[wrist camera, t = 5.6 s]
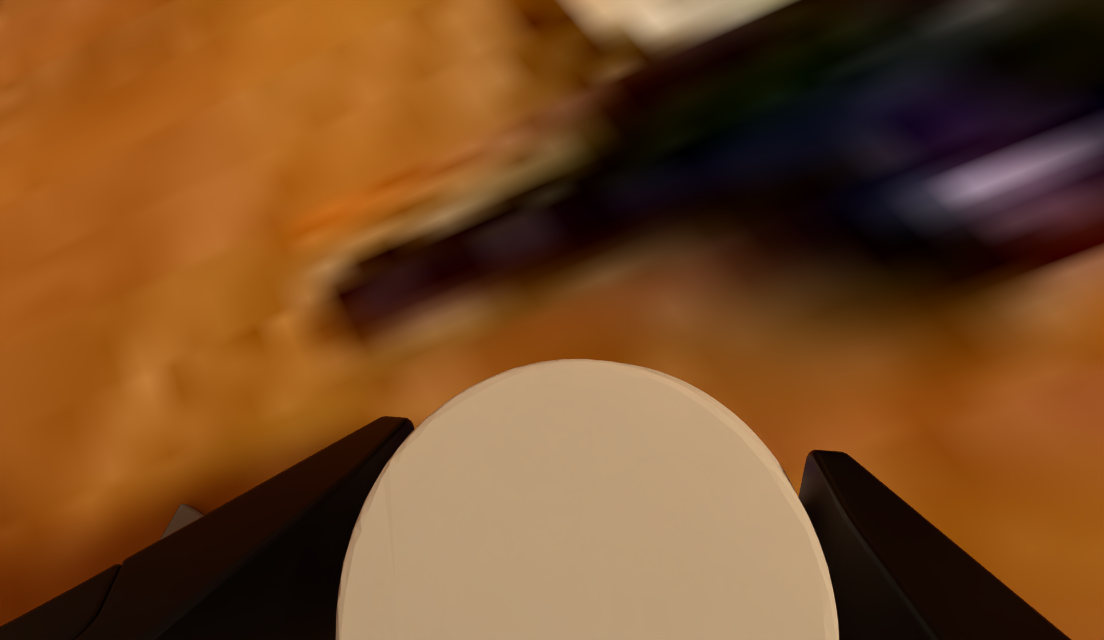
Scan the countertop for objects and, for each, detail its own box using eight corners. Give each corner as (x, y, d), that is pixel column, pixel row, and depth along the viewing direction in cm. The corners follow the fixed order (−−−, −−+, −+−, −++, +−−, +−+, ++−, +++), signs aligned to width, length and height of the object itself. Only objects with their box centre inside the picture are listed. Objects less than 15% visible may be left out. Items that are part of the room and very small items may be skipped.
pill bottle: (461, 556, 14) (114, 632, 5) (600, 387, 15) (526, 179, 6) (638, 736, 12) (614, 1390, 3) (784, 533, 13) (1107, 574, 4)
